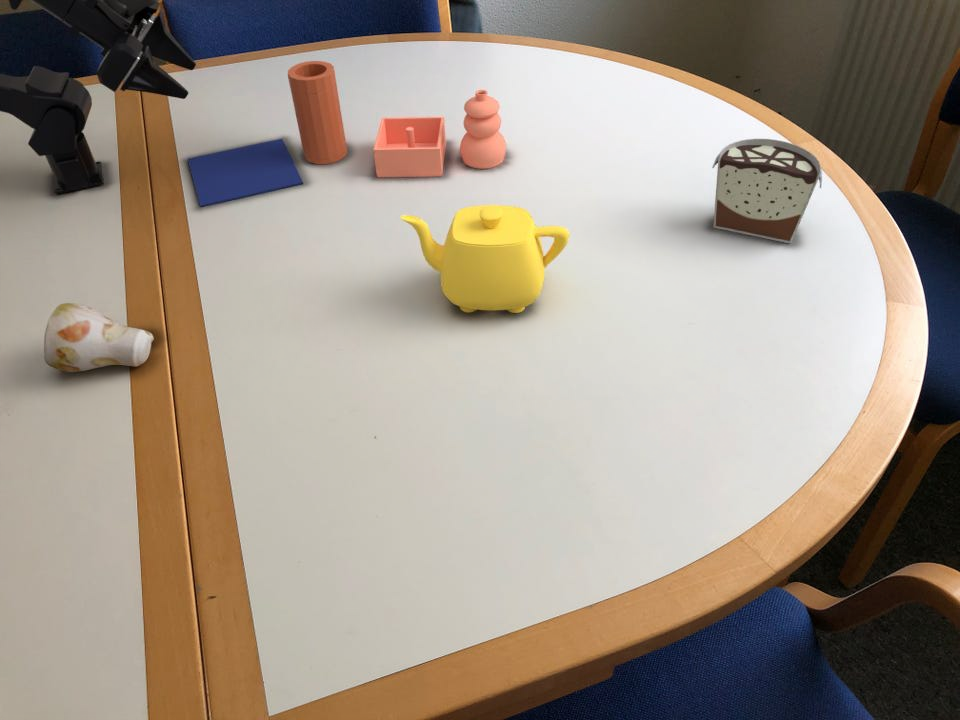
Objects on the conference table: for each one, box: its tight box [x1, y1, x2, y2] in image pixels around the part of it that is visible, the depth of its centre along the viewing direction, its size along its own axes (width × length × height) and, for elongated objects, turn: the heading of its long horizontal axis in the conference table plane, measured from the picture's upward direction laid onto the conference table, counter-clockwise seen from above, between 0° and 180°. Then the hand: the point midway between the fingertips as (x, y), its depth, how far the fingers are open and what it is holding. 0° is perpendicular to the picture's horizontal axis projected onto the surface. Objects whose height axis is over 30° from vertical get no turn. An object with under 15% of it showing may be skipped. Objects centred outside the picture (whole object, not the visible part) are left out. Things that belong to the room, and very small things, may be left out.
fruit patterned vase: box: [43, 302, 155, 373], centre depth 82 cm, size 8×10×10 cm
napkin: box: [187, 138, 304, 208], centre depth 113 cm, size 14×14×1 cm
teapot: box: [400, 204, 570, 314], centre depth 87 cm, size 18×11×11 cm, turn 86°
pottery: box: [373, 89, 507, 178], centre depth 110 cm, size 18×10×10 cm, turn 88°
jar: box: [287, 60, 348, 165], centre depth 112 cm, size 6×6×12 cm
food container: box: [711, 138, 823, 244], centre depth 96 cm, size 12×6×10 cm, turn 65°
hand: (190, 81), depth 106 cm, fingers open, 9 cm apart
